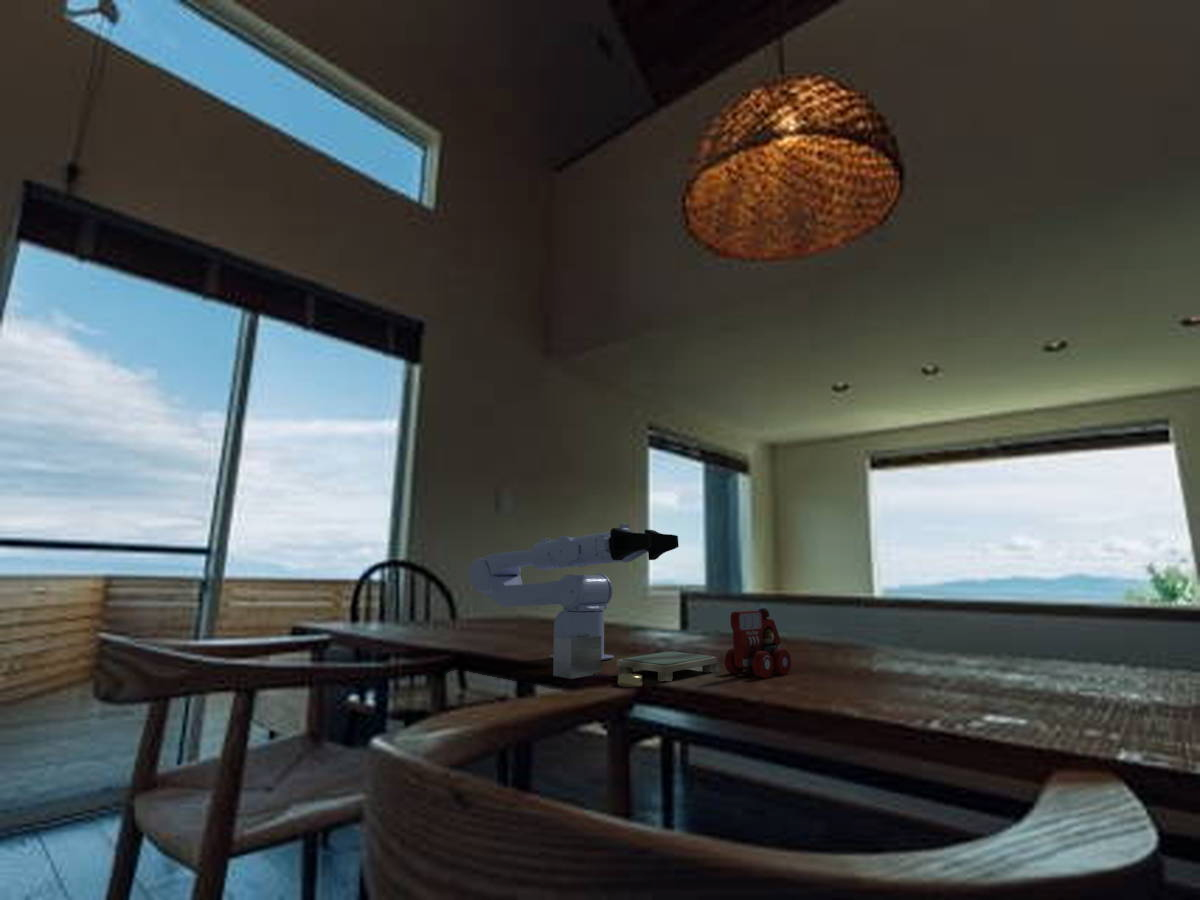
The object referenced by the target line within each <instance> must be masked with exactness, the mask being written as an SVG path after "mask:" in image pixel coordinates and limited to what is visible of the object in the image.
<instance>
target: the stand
mask: <svg viewBox="0 0 1200 900" xmlns="http://www.w3.org/2000/svg"><path fill="white" fill-rule="evenodd" d="M717 663H718V656H713V655H707V654H706V655H705V654H697V653H690V652H689V653H688V652H681V651H680V652H679V651H672V650H669V651H668V650H667V651H662V652H661V651H660V652H655V653H651V654H650V653H649V654H643V655H638V656H629V657H625V658H620V659H617V660H616V666H618V674H619V673H623V674H629V673H633V669H637V670H642V671H643V670H645V671H650V672H657V681H658V680H664V681H667V680H671V679H674V678H673V676H674V675H673V672H677V671H682V670H687V669H688V670H689V669H693V668H697V667H701V668H702V670H701V671H706V672H705V673H709V672H712V673H716V672H717ZM715 671H716V672H715ZM633 674H634V673H633Z"/></svg>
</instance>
